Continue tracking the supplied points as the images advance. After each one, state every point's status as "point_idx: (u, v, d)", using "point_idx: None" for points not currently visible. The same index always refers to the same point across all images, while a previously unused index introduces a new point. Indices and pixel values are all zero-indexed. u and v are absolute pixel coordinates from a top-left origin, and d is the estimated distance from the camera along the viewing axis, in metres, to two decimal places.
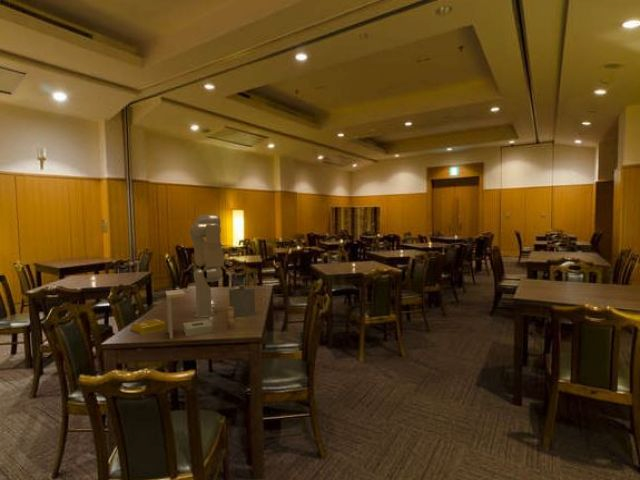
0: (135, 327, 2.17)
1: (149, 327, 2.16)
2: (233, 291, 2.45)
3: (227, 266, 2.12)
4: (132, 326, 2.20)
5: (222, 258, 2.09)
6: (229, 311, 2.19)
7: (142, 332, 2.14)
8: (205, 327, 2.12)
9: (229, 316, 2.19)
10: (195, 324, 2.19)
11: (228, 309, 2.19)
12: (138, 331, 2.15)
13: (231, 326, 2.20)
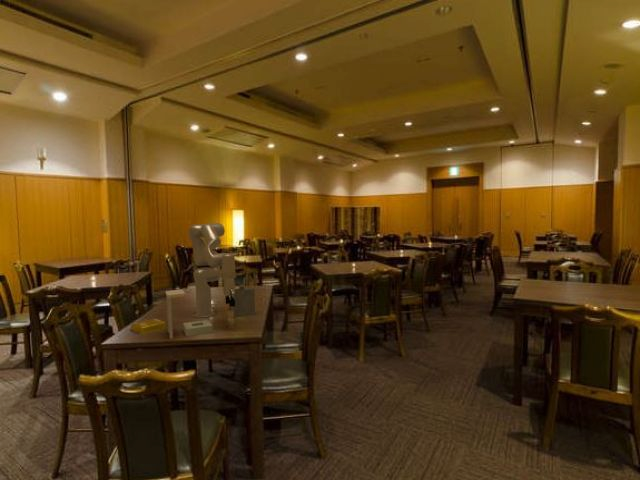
0: (135, 327, 2.17)
1: (149, 327, 2.16)
2: None
3: None
4: (132, 326, 2.20)
5: None
6: (229, 311, 2.19)
7: (142, 332, 2.14)
8: (205, 327, 2.12)
9: (229, 316, 2.19)
10: (195, 324, 2.19)
11: (228, 309, 2.19)
12: (138, 331, 2.15)
13: (231, 326, 2.20)
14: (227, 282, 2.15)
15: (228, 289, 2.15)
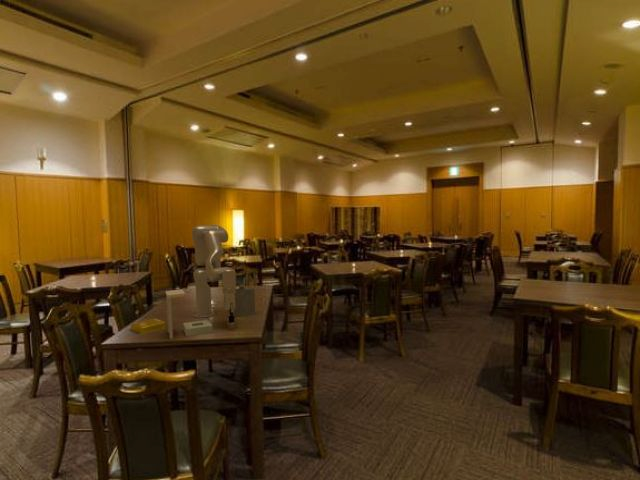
0: (135, 327, 2.18)
1: (149, 327, 2.17)
2: None
3: None
4: (132, 326, 2.20)
5: None
6: None
7: (142, 332, 2.14)
8: (205, 327, 2.12)
9: None
10: (195, 324, 2.19)
11: None
12: (138, 331, 2.15)
13: (231, 326, 2.20)
14: (227, 297, 2.16)
15: (228, 304, 2.16)
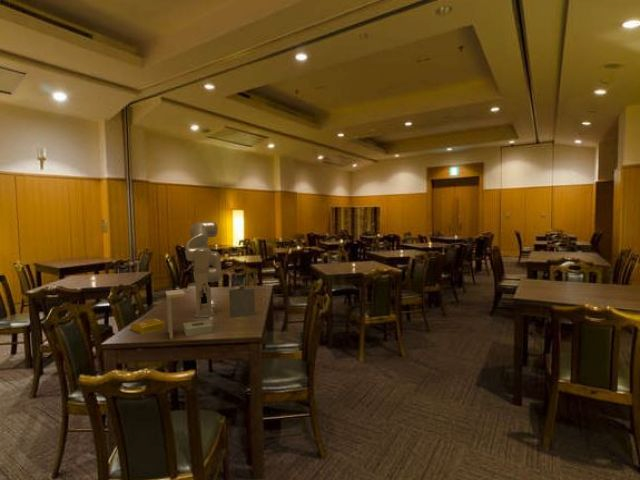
0: (134, 327, 2.18)
1: (148, 327, 2.17)
2: (233, 291, 2.45)
3: None
4: (131, 326, 2.21)
5: None
6: None
7: (141, 332, 2.14)
8: (205, 327, 2.12)
9: None
10: (195, 324, 2.19)
11: None
12: (137, 331, 2.16)
13: (204, 307, 2.15)
14: (200, 277, 2.11)
15: (201, 285, 2.11)
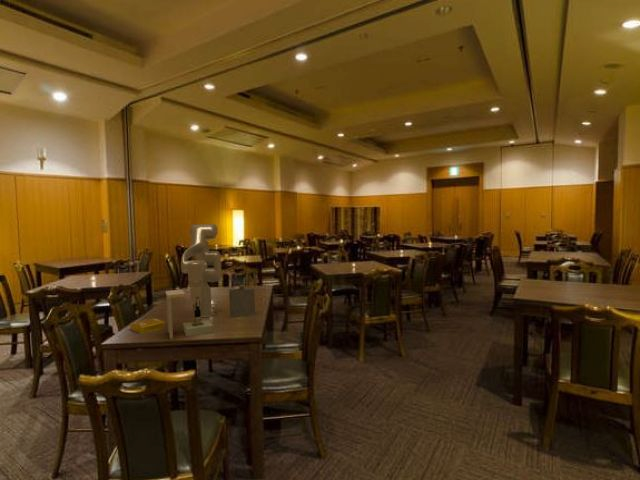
0: (134, 327, 2.18)
1: (148, 327, 2.17)
2: (233, 291, 2.45)
3: None
4: (131, 326, 2.21)
5: None
6: None
7: (141, 331, 2.15)
8: (205, 327, 2.12)
9: None
10: (195, 324, 2.19)
11: None
12: (137, 330, 2.16)
13: (197, 321, 2.14)
14: (193, 291, 2.10)
15: (194, 298, 2.10)
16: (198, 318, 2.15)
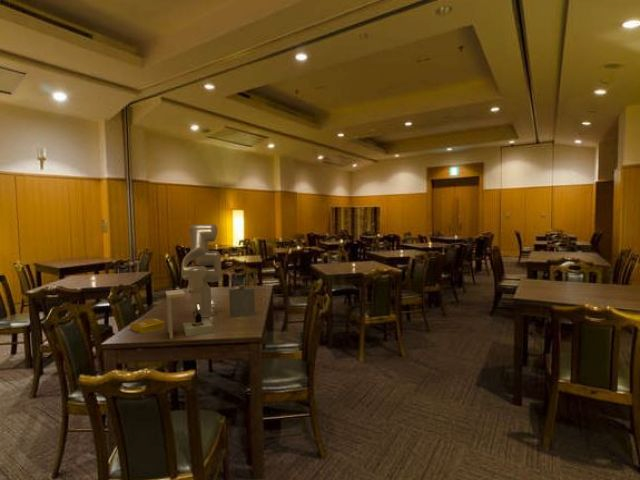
0: (134, 326, 2.19)
1: (148, 326, 2.17)
2: (233, 291, 2.45)
3: None
4: (131, 325, 2.21)
5: None
6: None
7: (141, 331, 2.15)
8: (205, 327, 2.12)
9: None
10: None
11: None
12: (137, 330, 2.16)
13: None
14: (193, 297, 2.11)
15: (194, 304, 2.11)
16: None
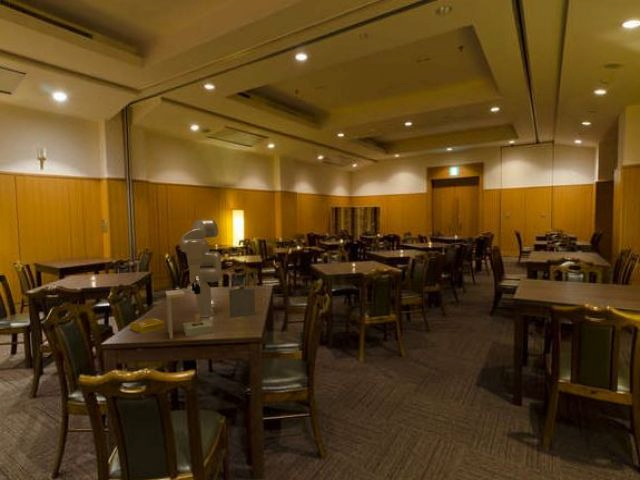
0: (134, 326, 2.19)
1: (148, 326, 2.18)
2: (233, 291, 2.45)
3: None
4: (131, 325, 2.22)
5: None
6: (196, 314, 2.14)
7: (141, 331, 2.15)
8: (205, 327, 2.12)
9: (196, 319, 2.14)
10: None
11: (195, 312, 2.14)
12: (137, 330, 2.16)
13: None
14: (192, 269, 2.10)
15: (193, 276, 2.10)
16: None
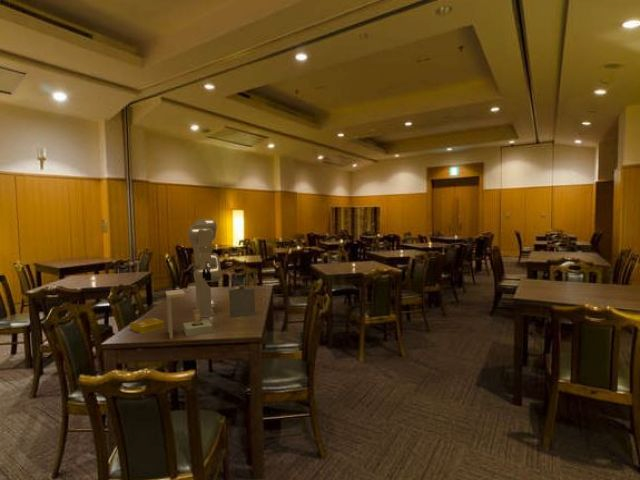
0: (134, 326, 2.19)
1: (148, 326, 2.18)
2: (233, 291, 2.45)
3: None
4: (131, 325, 2.22)
5: None
6: (196, 314, 2.14)
7: (141, 331, 2.16)
8: (205, 327, 2.12)
9: (196, 319, 2.14)
10: None
11: (194, 312, 2.14)
12: (137, 330, 2.17)
13: None
14: (203, 256, 2.17)
15: (204, 263, 2.17)
16: None
